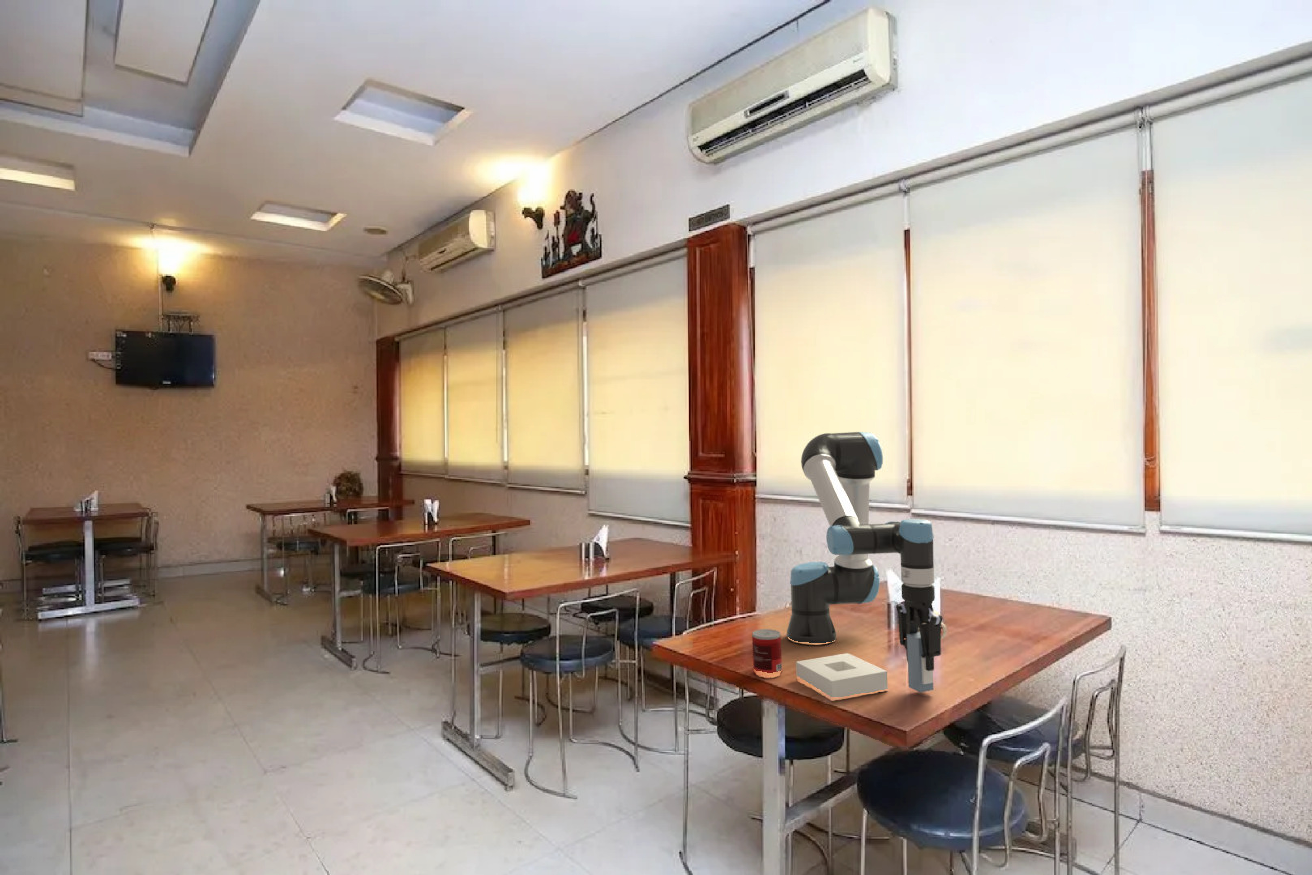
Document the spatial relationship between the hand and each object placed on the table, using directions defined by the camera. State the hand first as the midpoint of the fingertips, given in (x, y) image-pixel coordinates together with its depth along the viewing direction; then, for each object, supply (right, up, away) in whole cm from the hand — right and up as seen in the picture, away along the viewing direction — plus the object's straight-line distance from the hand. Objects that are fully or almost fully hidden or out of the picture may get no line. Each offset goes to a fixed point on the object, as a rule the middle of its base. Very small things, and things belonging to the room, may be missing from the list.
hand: (920, 679), depth 168 cm
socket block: (-17, -4, +7) cm, 19 cm away
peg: (0, -2, 0) cm, 2 cm away
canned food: (-34, -5, +18) cm, 39 cm away
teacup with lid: (+18, -3, +39) cm, 43 cm away
